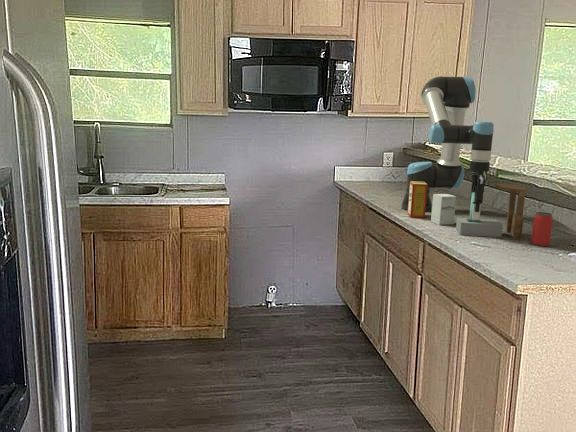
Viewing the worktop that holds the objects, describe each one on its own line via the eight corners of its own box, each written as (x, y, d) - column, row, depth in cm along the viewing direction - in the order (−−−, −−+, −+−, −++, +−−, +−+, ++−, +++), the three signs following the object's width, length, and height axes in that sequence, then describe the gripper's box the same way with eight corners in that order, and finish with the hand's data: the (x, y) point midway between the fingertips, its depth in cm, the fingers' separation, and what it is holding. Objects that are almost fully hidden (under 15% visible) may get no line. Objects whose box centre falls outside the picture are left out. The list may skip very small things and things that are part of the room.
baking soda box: (424, 218, 254) (427, 183, 251) (410, 217, 255) (413, 183, 251) (421, 214, 263) (424, 180, 260) (407, 213, 264) (410, 180, 261)
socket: (456, 229, 232) (457, 217, 231) (495, 231, 230) (496, 219, 229) (460, 234, 222) (461, 222, 221) (501, 237, 220) (502, 224, 219)
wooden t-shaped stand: (489, 230, 232) (494, 183, 228) (511, 231, 231) (517, 184, 227) (497, 238, 219) (502, 187, 215) (521, 239, 218) (527, 188, 214)
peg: (467, 225, 228) (470, 192, 225) (477, 226, 228) (481, 192, 225) (469, 227, 224) (472, 193, 222) (479, 228, 224) (483, 194, 221)
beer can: (533, 241, 215) (537, 211, 212) (551, 244, 211) (555, 213, 208) (528, 244, 210) (532, 213, 207) (546, 247, 206) (550, 215, 203)
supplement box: (439, 225, 240) (441, 196, 237) (430, 221, 247) (432, 193, 244) (454, 224, 242) (456, 196, 239) (445, 221, 249) (447, 193, 246)
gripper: (466, 158, 229) (461, 214, 234) (474, 162, 213) (468, 222, 217) (485, 159, 228) (479, 215, 233) (494, 163, 212) (488, 223, 217)
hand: (474, 218), depth 225 cm, fingers closed on peg, 4 cm apart
